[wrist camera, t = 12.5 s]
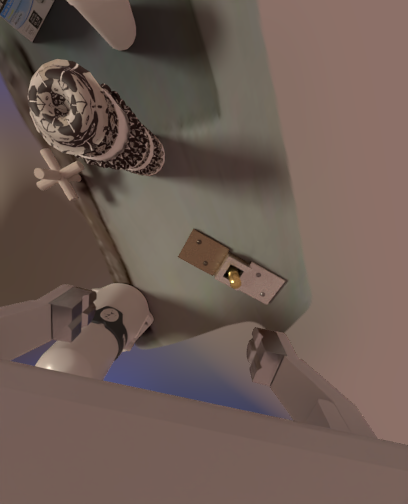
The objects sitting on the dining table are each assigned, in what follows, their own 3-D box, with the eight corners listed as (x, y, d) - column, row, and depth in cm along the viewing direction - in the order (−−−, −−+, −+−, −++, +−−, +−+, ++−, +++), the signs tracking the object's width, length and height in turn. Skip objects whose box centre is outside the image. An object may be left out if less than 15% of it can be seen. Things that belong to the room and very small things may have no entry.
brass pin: (235, 272, 49) (240, 289, 40) (225, 271, 49) (228, 287, 40) (237, 264, 48) (242, 279, 39) (227, 262, 48) (231, 277, 39)
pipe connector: (82, 145, 41) (44, 131, 32) (106, 189, 44) (77, 188, 34) (46, 165, 43) (-1, 157, 33) (71, 207, 45) (34, 210, 36)
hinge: (283, 279, 49) (290, 286, 45) (265, 302, 51) (270, 311, 47) (193, 228, 46) (192, 231, 42) (178, 255, 48) (175, 261, 44)
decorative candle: (116, 144, 41) (-16, 76, 17) (153, 122, 39) (64, 15, 16) (138, 184, 43) (48, 174, 19) (174, 165, 42) (123, 129, 18)
